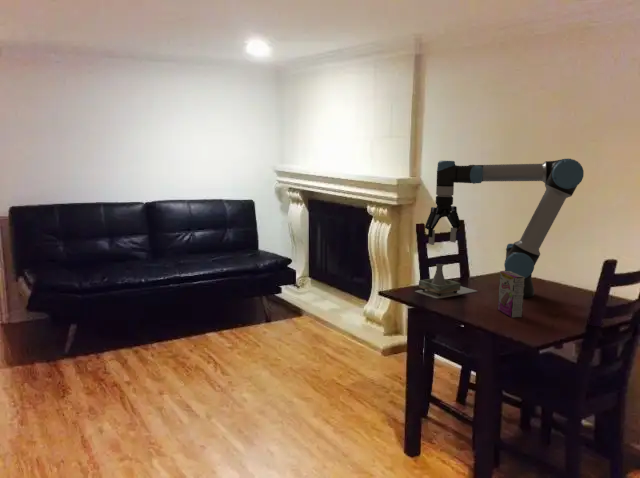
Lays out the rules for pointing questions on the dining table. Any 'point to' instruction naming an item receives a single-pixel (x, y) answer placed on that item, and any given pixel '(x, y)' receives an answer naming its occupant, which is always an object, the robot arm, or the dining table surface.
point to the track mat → (447, 294)
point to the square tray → (438, 289)
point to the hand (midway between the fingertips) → (442, 243)
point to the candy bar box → (511, 294)
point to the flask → (439, 276)
